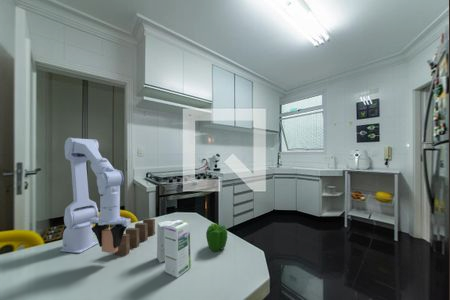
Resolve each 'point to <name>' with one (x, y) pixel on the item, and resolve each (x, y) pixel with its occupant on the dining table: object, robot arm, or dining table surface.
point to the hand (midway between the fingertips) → (109, 246)
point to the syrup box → (177, 247)
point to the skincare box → (161, 240)
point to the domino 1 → (107, 241)
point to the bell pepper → (216, 237)
